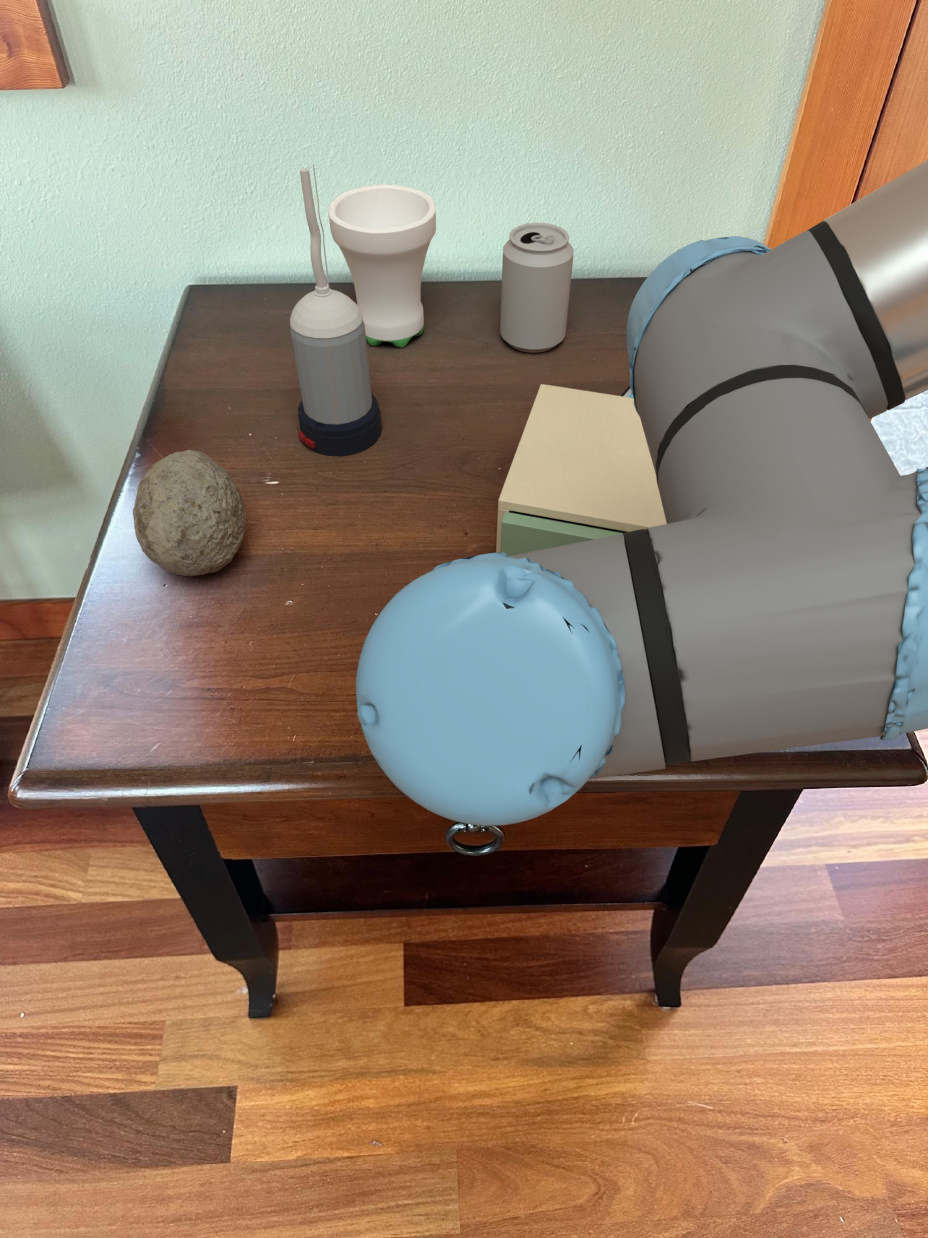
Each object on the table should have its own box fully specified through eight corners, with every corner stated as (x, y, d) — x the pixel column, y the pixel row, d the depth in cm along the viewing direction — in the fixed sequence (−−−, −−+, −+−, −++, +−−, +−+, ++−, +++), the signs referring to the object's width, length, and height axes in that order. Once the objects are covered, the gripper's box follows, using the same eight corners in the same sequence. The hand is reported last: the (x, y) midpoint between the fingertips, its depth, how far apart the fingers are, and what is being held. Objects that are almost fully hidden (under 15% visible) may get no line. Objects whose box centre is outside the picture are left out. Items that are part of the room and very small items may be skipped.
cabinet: (658, 620, 68) (682, 532, 61) (494, 588, 70) (498, 499, 63) (678, 496, 78) (701, 408, 70) (533, 471, 80) (540, 383, 73)
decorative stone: (242, 602, 69) (215, 512, 62) (141, 600, 69) (101, 510, 62) (265, 518, 76) (243, 428, 68) (173, 516, 76) (141, 425, 68)
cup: (361, 368, 92) (347, 239, 81) (330, 319, 98) (313, 194, 88) (455, 345, 95) (453, 218, 84) (418, 299, 101) (413, 176, 90)
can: (519, 315, 99) (524, 211, 90) (576, 332, 96) (587, 227, 87) (487, 344, 95) (490, 239, 86) (546, 363, 92) (555, 257, 83)
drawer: (643, 674, 63) (661, 605, 57) (482, 640, 65) (484, 570, 59) (670, 504, 76) (688, 433, 70) (534, 481, 78) (541, 409, 72)
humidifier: (288, 450, 82) (236, 185, 63) (316, 402, 88) (276, 144, 69) (367, 461, 81) (338, 195, 62) (391, 412, 86) (371, 153, 67)
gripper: (378, 697, 38) (469, 649, 62) (663, 762, 36) (646, 687, 59) (407, 536, 38) (488, 549, 61) (699, 592, 36) (668, 583, 59)
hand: (566, 617), depth 60 cm, fingers closed
